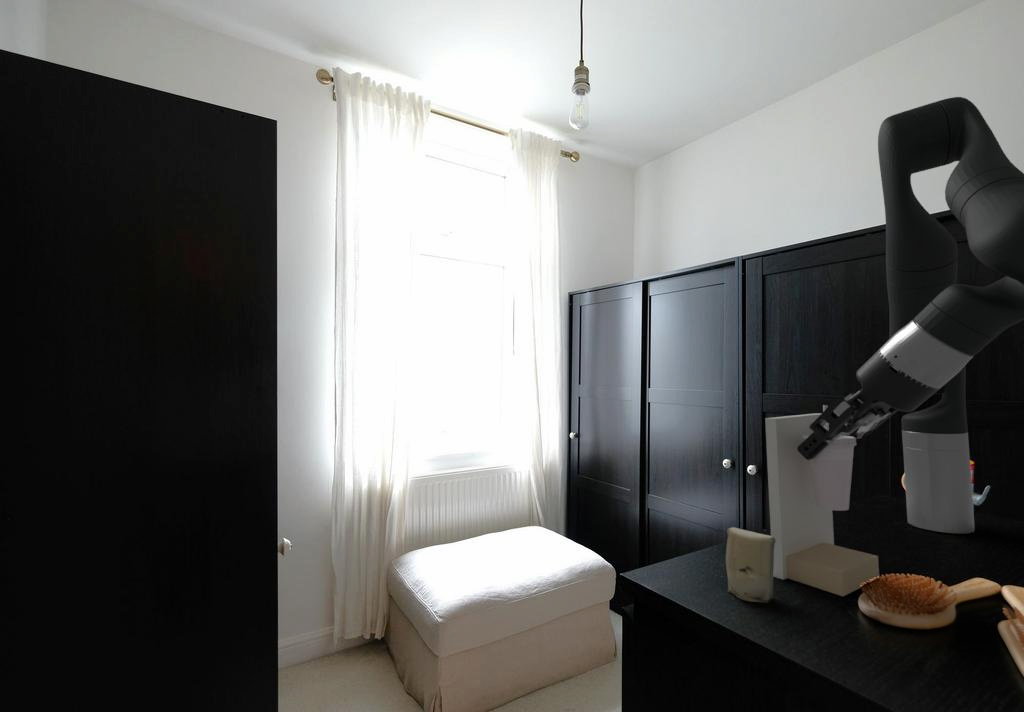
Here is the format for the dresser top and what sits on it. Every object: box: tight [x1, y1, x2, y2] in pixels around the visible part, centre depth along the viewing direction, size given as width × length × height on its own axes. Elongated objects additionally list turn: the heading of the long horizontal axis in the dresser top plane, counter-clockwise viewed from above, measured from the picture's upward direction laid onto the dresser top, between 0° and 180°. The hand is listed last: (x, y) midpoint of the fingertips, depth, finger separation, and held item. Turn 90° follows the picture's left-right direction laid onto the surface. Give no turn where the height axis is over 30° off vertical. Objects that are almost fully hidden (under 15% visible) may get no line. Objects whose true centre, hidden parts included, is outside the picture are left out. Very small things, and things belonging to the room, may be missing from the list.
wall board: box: [764, 412, 880, 597], centre depth 69 cm, size 14×8×22 cm, turn 122°
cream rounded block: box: [725, 526, 775, 604], centre depth 63 cm, size 6×5×8 cm
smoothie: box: [802, 404, 858, 512], centre depth 68 cm, size 6×6×14 cm
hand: (816, 452), depth 70 cm, fingers closed on smoothie, 6 cm apart
